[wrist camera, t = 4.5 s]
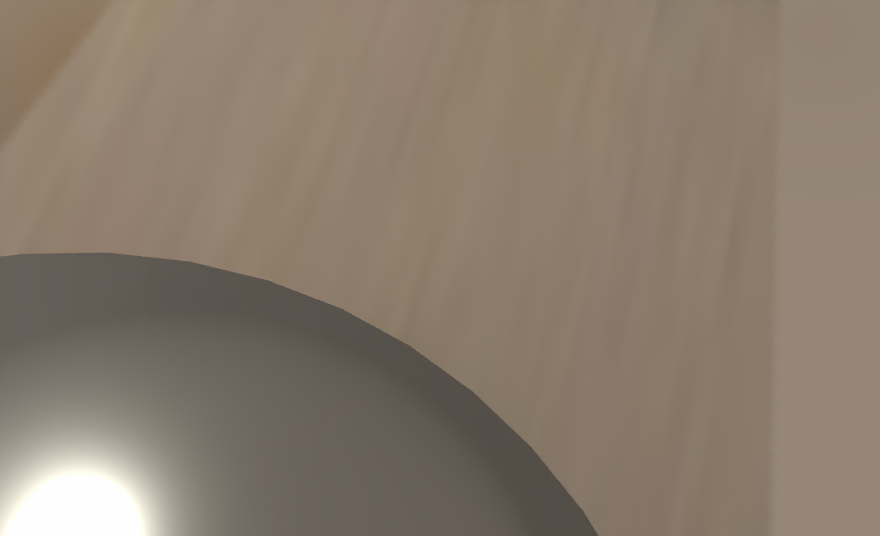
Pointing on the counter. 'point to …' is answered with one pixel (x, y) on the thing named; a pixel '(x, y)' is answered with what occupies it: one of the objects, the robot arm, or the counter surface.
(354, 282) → the counter surface
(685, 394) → the counter surface
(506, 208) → the counter surface
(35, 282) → the grey tin
